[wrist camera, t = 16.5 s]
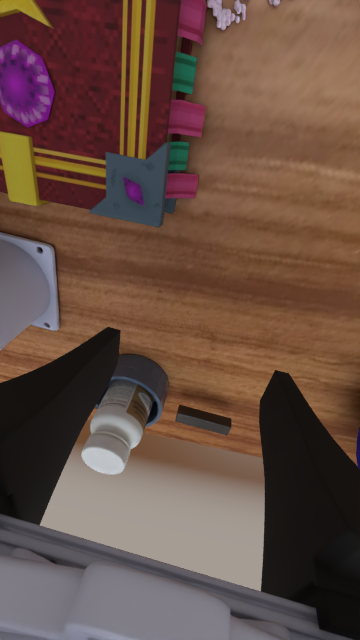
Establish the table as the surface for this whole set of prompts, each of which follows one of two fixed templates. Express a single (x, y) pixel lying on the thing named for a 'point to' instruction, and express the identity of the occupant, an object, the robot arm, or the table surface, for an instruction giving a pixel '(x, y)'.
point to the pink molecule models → (225, 15)
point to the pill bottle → (117, 426)
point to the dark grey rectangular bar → (203, 420)
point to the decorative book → (99, 104)
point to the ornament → (358, 449)
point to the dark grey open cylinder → (143, 381)
